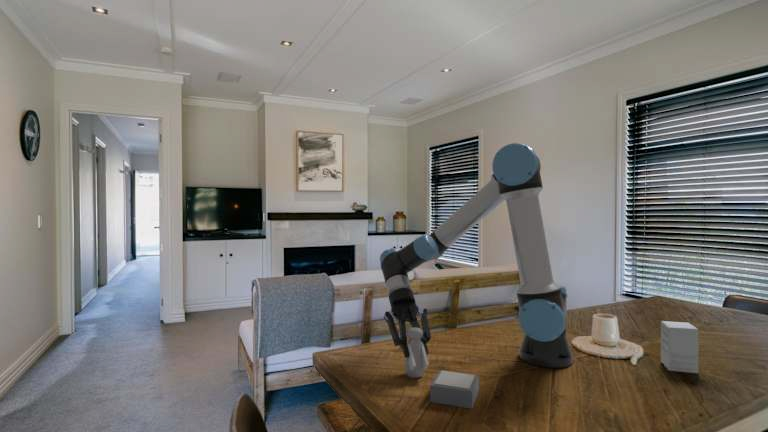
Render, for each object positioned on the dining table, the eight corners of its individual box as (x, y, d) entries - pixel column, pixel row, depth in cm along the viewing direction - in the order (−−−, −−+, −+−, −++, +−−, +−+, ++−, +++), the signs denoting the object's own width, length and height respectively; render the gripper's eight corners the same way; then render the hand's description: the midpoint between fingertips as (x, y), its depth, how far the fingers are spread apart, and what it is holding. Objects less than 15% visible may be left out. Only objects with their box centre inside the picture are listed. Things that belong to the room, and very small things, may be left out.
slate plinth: (478, 391, 105) (478, 374, 105) (472, 408, 96) (472, 390, 96) (439, 385, 109) (439, 368, 109) (430, 401, 99) (430, 384, 99)
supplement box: (689, 364, 122) (689, 322, 122) (698, 374, 115) (699, 329, 115) (660, 361, 125) (660, 320, 125) (667, 371, 118) (668, 326, 118)
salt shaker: (424, 380, 112) (424, 332, 111) (403, 378, 113) (402, 331, 113) (426, 371, 117) (426, 326, 117) (406, 370, 119) (406, 325, 118)
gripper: (421, 298, 132) (443, 370, 116) (372, 302, 127) (388, 376, 112) (428, 285, 127) (451, 357, 111) (377, 287, 122) (394, 364, 107)
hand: (419, 367), depth 111 cm, fingers closed on salt shaker, 3 cm apart
